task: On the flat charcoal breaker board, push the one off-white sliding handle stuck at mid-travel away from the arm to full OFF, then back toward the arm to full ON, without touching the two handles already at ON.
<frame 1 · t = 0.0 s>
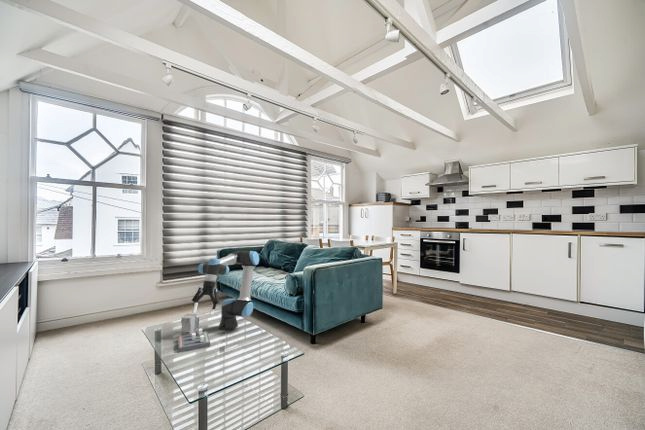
hand: (202, 313, 185), 28 cm above the table, tool tilted 20°, fingers open, 13 cm apart
handle right: (200, 331, 211), point 5 cm above the table, slide at -5.0 cm
handle left: (202, 338, 199), point 5 cm above the table, slide at -5.0 cm
circuit breaker: (190, 334, 220), on the table
breaker board: (193, 343, 203), on the table
tripped handle: (193, 336, 203), point 5 cm above the table, slide at 0.0 cm
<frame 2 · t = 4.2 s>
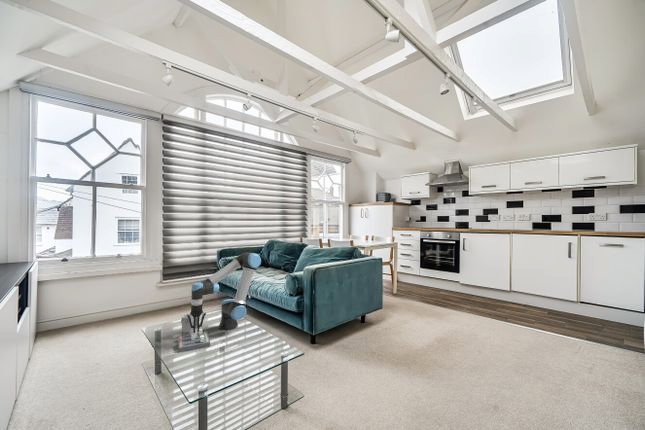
hand: (196, 336, 204), 5 cm above the table, tool pointing down, fingers closed
tripped handle: (193, 336, 203), point 5 cm above the table, slide at 0.5 cm, touching gripper
everything else where it was.
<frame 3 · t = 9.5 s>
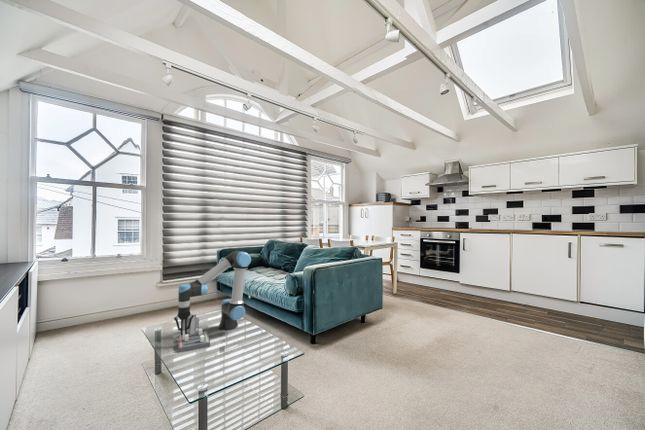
hand: (183, 339, 200), 4 cm above the table, tool pointing down, fingers closed
tripped handle: (186, 337, 201), point 5 cm above the table, slide at 4.7 cm, touching gripper
everything else where it was.
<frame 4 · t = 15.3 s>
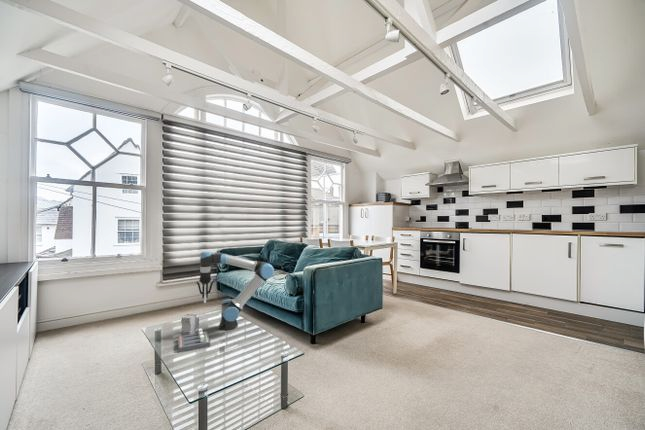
hand: (204, 302, 215), 26 cm above the table, tool pointing down, fingers closed
tripped handle: (201, 335, 205), point 5 cm above the table, slide at -5.1 cm
everything else where it was.
at the end: tripped handle slide at -5.1 cm; handle left slide at -5.0 cm; handle right slide at -5.0 cm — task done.
